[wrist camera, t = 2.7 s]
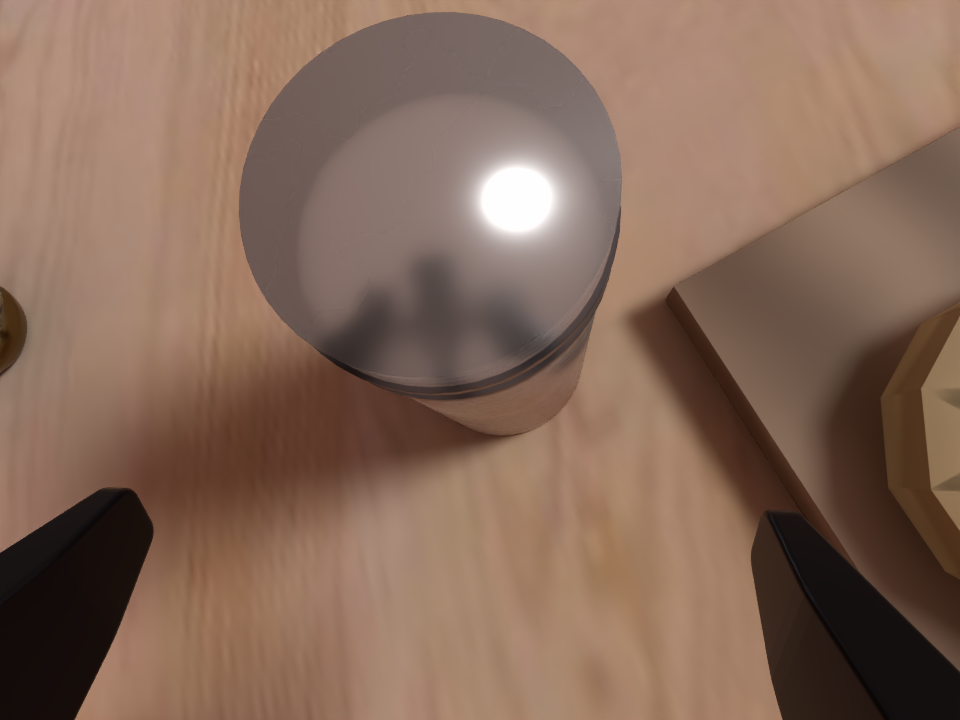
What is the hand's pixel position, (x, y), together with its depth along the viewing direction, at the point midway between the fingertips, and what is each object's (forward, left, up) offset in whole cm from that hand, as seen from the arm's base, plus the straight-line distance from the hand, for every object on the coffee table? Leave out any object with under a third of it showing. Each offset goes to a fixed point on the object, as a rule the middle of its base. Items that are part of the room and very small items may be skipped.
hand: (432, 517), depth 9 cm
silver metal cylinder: (+2, +4, -11) cm, 12 cm away
